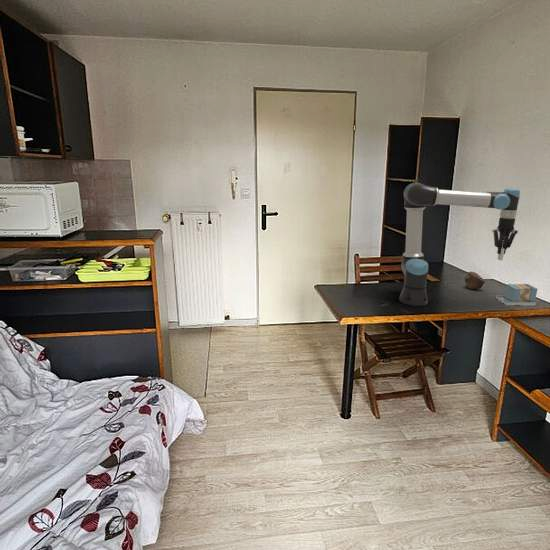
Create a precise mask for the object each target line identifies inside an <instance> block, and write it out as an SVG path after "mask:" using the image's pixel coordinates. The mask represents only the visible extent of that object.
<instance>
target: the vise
mask: <svg viewBox="0 0 550 550" xmlns="http://www.w3.org/2000/svg"><path fill="white" fill-rule="evenodd" d="M522 284H523V285H525V286H527V287H529V288H530V294H529V299H528V302H515V301H511V300H509V299H508V298H506V297H504V295H505V294H504V295H500V294H499V295H495V296H496V297H495V299H496V300H497V299H498V300H497V301H499V302H500V301H501V302H500V303H501V304H503V303H504V304H503V305H505V304H506V305H505V306H514V305H520V306H521V305H522V307H523V306H525V307H535V306H536V304H537V302H536V298H537V294H538V293H537V292H538V288H536V287H534V286H532V285H531V284H529V283H522Z"/></svg>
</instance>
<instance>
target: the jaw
mask: <svg viewBox="0 0 550 550" xmlns="http://www.w3.org/2000/svg"><path fill="white" fill-rule="evenodd" d="M513 284H514V283H513ZM513 284H512V283H506V286H505V291H504V297H506V298H508V299H509V300H511V301H515V302H519V298H520V293H521V289H520V288H518V287H516V286H514V285H513Z"/></svg>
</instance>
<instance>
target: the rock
mask: <svg viewBox="0 0 550 550" xmlns="http://www.w3.org/2000/svg"><path fill="white" fill-rule="evenodd" d="M464 282H465V284H466V285H465V287H466V289H470V290H479V289H482V287H483V286H484V284H485V282H486V281H485V279H484V278H482V276H481V275H479V274H478V273H476V272H474V271H468V272H467V275H466V276H465V279H464Z"/></svg>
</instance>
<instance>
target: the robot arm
mask: <svg viewBox="0 0 550 550" xmlns="http://www.w3.org/2000/svg"><path fill="white" fill-rule="evenodd" d="M520 195H521V190H520V189H518V188H507V187H506V188H504V190H503V191H501V192H500V191H481V192H479V191H478V192H477V191H465V190H454V189H453V190H451V189H439V188H438V187H435V186H429V185H425V184H423V183H421V182H412V183H410V184H408V185H407V186H406V187H405V188H404V190H403V198H404V201H403V202H404V205H403V208H404V209H405V210H406V225H405V226H406V227H405V248H404V250H405V251H404V252H403V253H402V259H401V264H400V268H401V270H402V273H403V274H404V279H403V280H404V281H403V288H402V290H401V292H400V295H399V296H398V298H399V299H398V300H399V302H401V304H404V305H407V306H412V307H421V306H426V305H428V301H429V300H428V295H427V282H428V281H427V280H428V273H429V263H428V262H427V261H426V260H424V257H425V256H424V253H423V252H422V242H423V241H422V240H423V239H422V237H423V217H424V214H423V213H424V210H425V209H426V208H427V206H429V207H434V206H436V205H445V206H459V207H460V206H462V207H472V208H486V209H487V208H488V209H496V210H500V213H499V218H498V226H497V228H495V229H492V230H491V231H492V233H493V239H494V240H493V241H494V244H493V245H494V247H495V248H497V251H496V253H497V260H499V261H503V260H504V255H506V251H507V249H508V248H511V246H512V243H513V241H514V239H515V237H516V235H518V233H519V231H518V230H516V229H515V224H516V223H515V222H516V217H517V211H518V206H519V201H520V199H521V198H520Z"/></svg>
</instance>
